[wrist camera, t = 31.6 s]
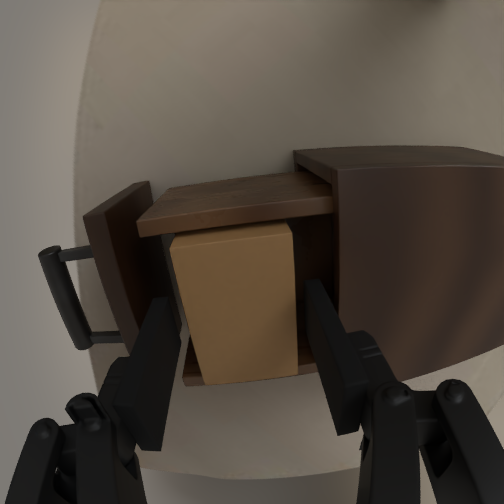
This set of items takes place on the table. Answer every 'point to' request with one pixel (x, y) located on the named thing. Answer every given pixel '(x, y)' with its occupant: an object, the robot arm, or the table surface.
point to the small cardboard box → (239, 299)
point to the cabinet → (417, 249)
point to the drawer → (185, 219)
